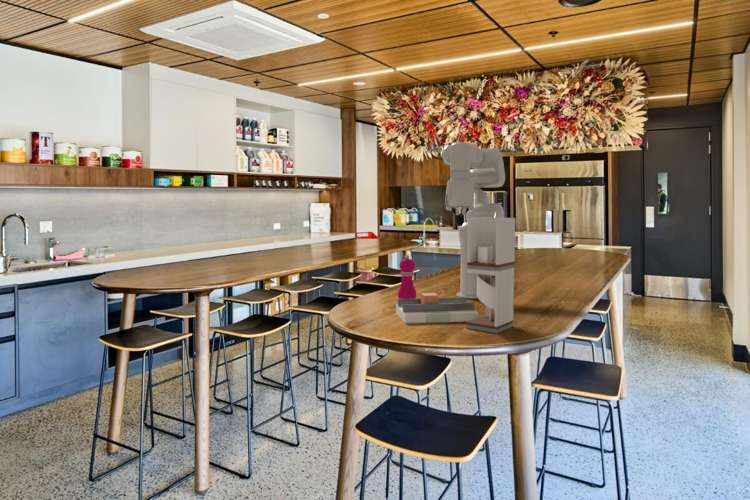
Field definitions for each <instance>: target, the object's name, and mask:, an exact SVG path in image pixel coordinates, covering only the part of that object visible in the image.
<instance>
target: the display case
mask: <svg viewBox="0 0 750 500" xmlns="http://www.w3.org/2000/svg"><path fill="white" fill-rule="evenodd" d="M515 242H516V217H504V218H490V217H483V218H468V239H467V273H473V274H477V297H478V298H477V299H478V301H480V302H481V303H482V304H483V305H484V306H485V311H484V313H485V314H484V315H482V316H478V318H476V319H473V320H470V321H465V322H466V323H465V324H466V327H465V328H466V329H469V330H474V331H481V332H488V333H493V334H499V333H501V332H503V331H506V330H508V329H511V328H513V327H514V304H515V303H514V301H515V300H514V299H515V298H514V294H515V259H516V257H515V256H516V255H515V253H516V252H515V247H516V243H515Z"/></svg>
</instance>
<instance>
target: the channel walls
mask: <svg viewBox="0 0 750 500" xmlns="http://www.w3.org/2000/svg"><path fill="white" fill-rule="evenodd" d="M397 304H398V306H403V312H435V311H468V310H475V311H476V302H472V301H471V302H467V298H466V297H458V296H455V297H451V296H450V297H438V303H436V304H421V297H419V298H417V297H416V298H414V299H399V298H397Z"/></svg>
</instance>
